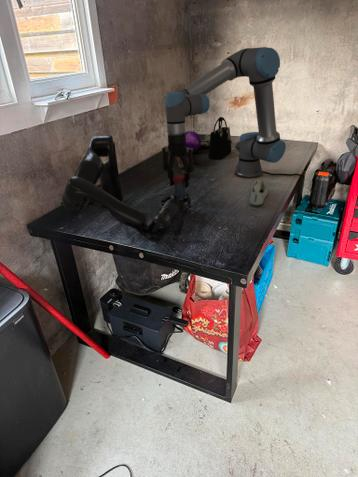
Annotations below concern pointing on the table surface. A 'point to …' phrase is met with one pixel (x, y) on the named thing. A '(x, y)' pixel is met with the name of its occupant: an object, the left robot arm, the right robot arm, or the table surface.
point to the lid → (178, 179)
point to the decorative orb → (193, 140)
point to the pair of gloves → (206, 141)
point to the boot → (181, 160)
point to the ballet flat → (258, 193)
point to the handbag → (220, 141)
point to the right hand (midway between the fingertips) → (179, 185)
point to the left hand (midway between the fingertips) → (181, 195)
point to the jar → (180, 192)
